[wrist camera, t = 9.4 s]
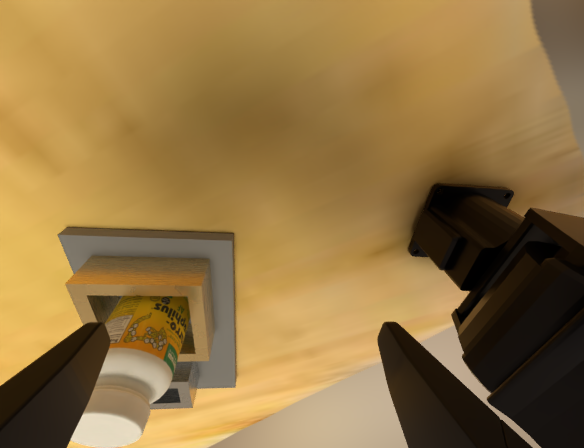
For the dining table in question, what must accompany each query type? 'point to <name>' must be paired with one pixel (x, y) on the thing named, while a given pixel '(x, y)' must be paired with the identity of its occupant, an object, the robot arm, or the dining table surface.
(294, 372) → the dining table surface
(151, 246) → the fitting board
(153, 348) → the supplement bottle
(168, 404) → the steel collar
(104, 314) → the square wooden frame
